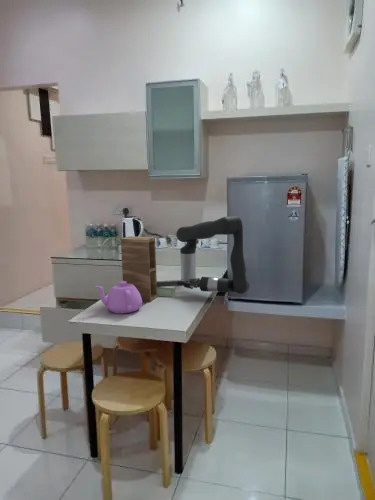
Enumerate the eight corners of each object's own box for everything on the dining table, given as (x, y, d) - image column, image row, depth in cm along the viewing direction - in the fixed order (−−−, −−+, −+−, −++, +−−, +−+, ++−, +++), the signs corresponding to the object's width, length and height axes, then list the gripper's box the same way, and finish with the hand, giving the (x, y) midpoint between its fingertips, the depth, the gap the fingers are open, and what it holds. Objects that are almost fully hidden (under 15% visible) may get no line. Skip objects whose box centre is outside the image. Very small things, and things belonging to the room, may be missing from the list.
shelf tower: (131, 294, 211) (128, 236, 205) (157, 297, 206) (155, 237, 200) (123, 299, 202) (120, 238, 197) (150, 302, 197) (147, 239, 192)
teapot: (92, 306, 192) (90, 279, 189) (135, 300, 200) (134, 274, 198) (101, 321, 172) (99, 290, 169) (148, 313, 180) (147, 284, 178)
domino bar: (150, 286, 214) (149, 281, 214) (191, 284, 206) (190, 279, 206) (148, 287, 212) (147, 282, 211) (189, 285, 204) (189, 280, 203)
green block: (148, 291, 218) (148, 284, 217) (175, 293, 212) (175, 286, 212) (143, 294, 211) (143, 288, 210) (171, 296, 206) (171, 290, 205)
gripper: (213, 274, 207) (182, 272, 213) (206, 280, 194) (173, 278, 200) (213, 287, 209) (183, 285, 214) (206, 295, 196) (174, 292, 201)
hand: (178, 282), depth 207 cm, fingers closed on domino bar, 2 cm apart
